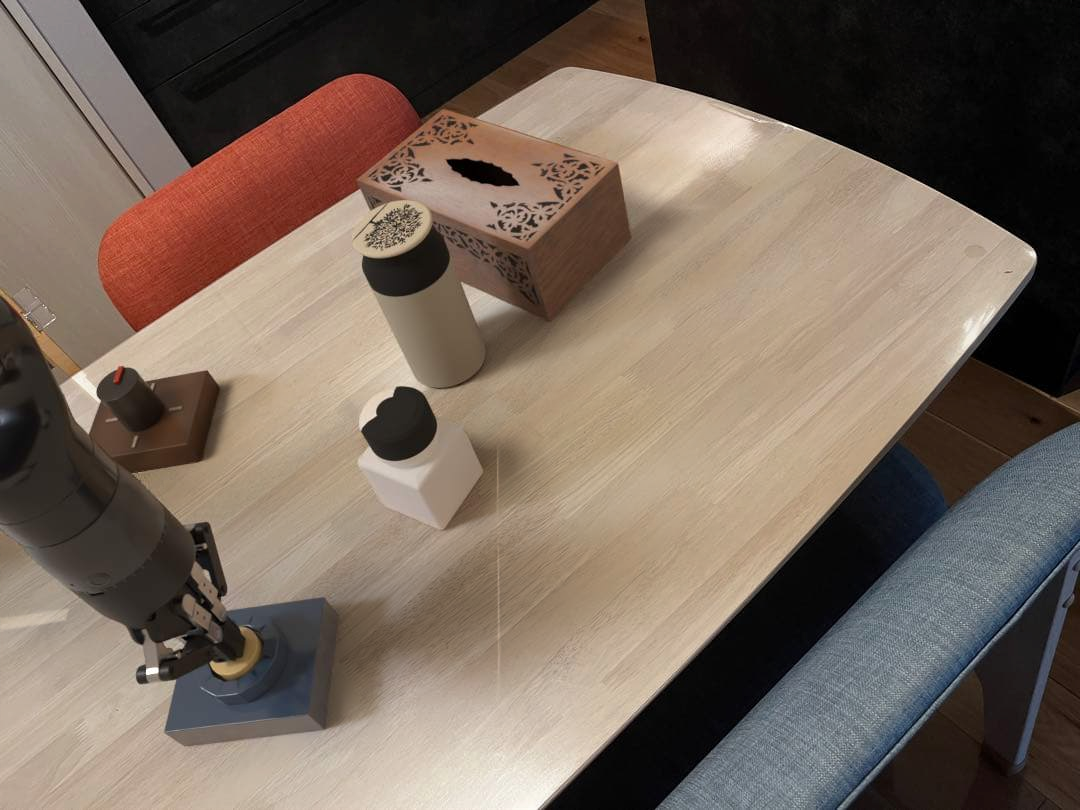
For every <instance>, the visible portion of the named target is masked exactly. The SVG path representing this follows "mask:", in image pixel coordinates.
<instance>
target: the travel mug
mask: <svg viewBox="0 0 1080 810" xmlns="http://www.w3.org/2000/svg"><path fill="white" fill-rule="evenodd" d="M432 222H433V218H432V214H431V212H430V210H429V209H428V208H427V207H426V206H425V205H423V204H422V203H419V202H416V201H411V200H400V201H394V202H390V203H386V204H384V205H381V206H379V207H377V208H375V209H373V210H372V211H370V210H369V212H368V213H366V214H364V215H363V217H361V219H360V220H359V221H358V222H357V223H356V224H355V226H354V228H353V230H352V234H351V243H352V245H353V248H354V249H355V251H356V252H357V253H359V254H360V255H362V260H361V269H362V273H363V274H364V276H365V278H366V279H365V280H366V281H367V282H368V284H369V287H370V289H371V290H372V293H373V295H374V297H375V299H376V301H377V303H378V305H379V307H380V309H381V311H382V314H383V315H384V317H385V320H386V322H387V324H388V326H389V327H390V329H391V332H392V333H393V336H394V338H395V340H396V342H397V344H398V346H399V348H400V350H401V352H402V354H403V356H404V358H405V360H406V363H407V365H408V367H409V368H410V370H411V372H412V374H413V377H414V378H415V380H416V381H418V382H419V383H420V384H422V385H424V386H426V387H430V388H435V389H440V388H442V389H443V388H449V387H454V386H456V385H459V384H462V383H463V382H465V381H467V380H469V379H470V378H471V377H473V376H474V375H475V374H476V373H477V372H478V371H479V370H480V368H481V367H482V365H483V363H484V362H485V359H486V355H487V353H486V352H487V348H486V344H485V341H484V339H483V336H482V333H481V331H480V329H479V326H478V323H477V320H476V317H475V316H474V313H473V310H472V307H471V305H470V302H469V300H468V297H467V295H466V292H465V290H464V287H463V284H462V282H461V281H460V279H459V276H458V274H457V271H456V269H455V266H454V263H453V261H452V258H451V256H450V253H449V250H448V248H447V245H446V243H445V240H444V238H443V236H442V234H441V233H440V232H439V231H437V230H436V229H434V228H433V227H432Z"/></svg>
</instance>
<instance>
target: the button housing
mask: <svg viewBox="0 0 1080 810" xmlns="http://www.w3.org/2000/svg"><path fill="white" fill-rule="evenodd" d="M227 616H228V617H229V618H230V619H231V620H232V621H233V622H234V623H235V624H236V625H237V626H238V627H245V628H248V629H250V630H252V631H253V632H254V633H255V634H256V635H257V636H258V637H259V638H260V639H261V640H262V641H263V642H264V647H263V653H262V657H261V659H260V660H259V662H258V663H257V665H256V666H255V667H254V669H253V670H252V671H251V672H250V673H248V674H247V675H245V676H244V677H242V678H240V679H239V680H234V681H225V680H224V679H223V678H222V677H221V676H219V675H218V674H217V673H216V672H215V671H214V670H213V669H212V667H211V665H210V662H209V663H207V664H205V665H203V666H201V667H199V668H198V669H196V670H194V671H192V672H190V673H188V674H186V675H184V676H182V677H180V678H178V679H176V680H175V684H174V687H173V691H172V692H173V693H172V696H171V701H170V705H169V710H168V713H167V719H166V722H165V727H164V731H163V733H164V734H165V735H166V736H168V737H169V738H171V739H172V740H175V742H177V743H178V744H180V745H181V746H183V747H192V746H193V747H194V746H201V745H210V744H219V743H226V742H234V741H242V740H251V739H260V738H268V737H276V736H285V735H294V734H300V733H301V734H303V733H309V732H317V731H318V732H319V731H325V730H326V723H327V714H328V707H329V697H330V688H331V680H332V674H333V673H332V672H333V664H334V656H335V646H336V638H337V630H338V622H339V613H338V612H337V610H336V609H335V608H334V607H333V606H332V604H331V603H330V602H329V601H328V600H327V599H326V597H325V596H321V597H314V598H307V599H300V600H292V601H286V602H278V603H273V604H263V605H257V606H250V607H243V608H235V609H230V610H227ZM184 645H185V644H183V646H184Z"/></svg>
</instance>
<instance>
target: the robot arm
mask: <svg viewBox="0 0 1080 810" xmlns="http://www.w3.org/2000/svg"><path fill="white" fill-rule="evenodd" d="M0 531H2V532H3V533H4V534H6V535H7V536H8V537H9V538H11V539H12V540H13V541H14V542H16V543H17V544H18V545H19V546H20V547H22V549H23V550H24V551H25V552H26V553H27V554H28V556H29V557H30V558H31V559H32V560H33V561H34V562H35V563H36V564H37V565H38V566H39V567H40V568H42V569H43V571H45V572H46V573H48V575H51V576H52V577H53V578H54V579H55V580H57V581H58V582H59V583H61V584H62V585H63V586H64V587H66V588H67V589H69V590H70V591H71V592H72V593H73V594H75V595H76V596H77V597H78V598H79V599H80V600H82V601H83V602H85V603H86V604H87V605H88V606H89V607H91V608H92V609H94V610H95V611H96V612H97V613H99V614H100V615H101V616H103V617H105V618H107V619H109V620H112V621H114V622H117V623H118V624H121V625H123V626H125V628H126V629H127V631H128V633H129V636H130V638H131V639H132V641H133V642H134V643H136V644H137V645H139V646H142V649H143V655H144V662H145V663H144V664H142V665H140V666H138V667H137V669H136V671H135V680H136V682H137V684H138V685H147V684H157V683H165V682H170V681H176V679H178V678H180V677H182V676H184V675H186V674H188V673H190V672H192V671H194V670H196V669H198V668H199V667H201V666H203V665H205V664H207V663H209V662H211V661H213V662H215V663H223V662H231V661H236V658H241V657H243V652H244V647H245V642H246V638H245V637H244V636H243V635H242V634H241V631H240V628H239V627H238V626H237V625H236V624H235V623H234V622H233V621H232V620H231V619H230V618H229V617H228V616H227V611H228V610H227V608H226V607H225V605H224V604H223V603H222V598H223V597H226V596H227V594H228V584H227V581H226V577H225V573H224V570H223V566H222V562H221V558H220V555H219V551H218V548H217V547H218V546H217V545H216V541H215V537H214V533H213V530H212V526H211V524H210V523H209V521H202V522H196V523H190V524H182V522H181V521H180V520H179V519H177V518H176V516H175V515H174V514H172V512H171V511H170V510H169V509H168V508H167V507H166V506H165V505H164V504H163V503H162V501H160V500H159V499H158V498H157V497H156V496H155V495H154V494H153V493H152V492H151V490H150V489H148V488H147V486H146V485H145V484H144V483H143V482H142V481H141V480H140V479H139V478H138V477H137V476H136V475H134V474H133V473H130V472H129V471H128V470H127V469H125V468H124V467H122V466H121V465H119V464H118V463H117V462H116V461H115V460H113V459H112V458H111V457H110V456H109V455H108V454H107V453H106V452H105V451H104V449H103V448H102V447H101V446H100V445H99V444H98V443H97V442H96V441H95V440H94V439H93V438H92V437H91V436H90V435H89V432H87V431H86V430H85V429H84V427H82V426H81V425H80V424H79V423H78V421H76V419H75V417H74V415H73V413H72V410H71V408H70V406H69V403H68V400H67V399H66V396H65V394H64V392H63V391H62V388H61V386H60V385H59V382H58V381H57V378H56V377H55V374H54V371H53V370H52V368H51V366H50V364H49V362H48V360H47V358H46V356H45V354H44V352H43V350H42V348H41V346H40V344H39V341H38V340H37V339H36V337H35V334H34V333H33V331H32V329H31V327H30V326H29V325H28V324H27V322H26V320H25V319H24V318H23V317H22V315H21V314H20V312H18V311H17V309H16V308H15V307H14V306H13V305H12V304H11V303H10V302H9V301H8V300H7V299H6V298H5V297H4V296H3V295H2V294H0ZM204 570H205V571H207V572H208V575H209V578H210V579H209V578H208V577H207V576H206V575H205V573H204ZM173 639H174V640H175V639H176V640H177V641H178V642H180V643H182V644H183V648H178V649H175V650H174V649H173V648H172V647H166V645H165V644H164V642H167V641H170V640H173ZM184 644H185V645H184Z"/></svg>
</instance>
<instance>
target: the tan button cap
mask: <svg viewBox="0 0 1080 810" xmlns="http://www.w3.org/2000/svg"><path fill="white" fill-rule="evenodd" d="M239 628H240V631H241V634H242V635H243V636H244V637H245V638H246V642H245V647H244V652H243V657H241V658H236V661H231V662H223V663H215V662H213V661H211V662H210V665H211V667H212V669H213V670H214V671H215V672H216V673H217V674H218V675H219V676H221V677H222V678H223V679H224V680H225V681H234V680H239V679H240V678H242V677H244V676H245V675H247V674H248V673H250V672H251V671H252V670H253V669H254V667H255V666H256V665H257V663H258V662H259V660H260V659H261V657H262V653H263V647H264V642H263V641H262V640H261V639H260V638H259V637H258V636H257V635H256V634H255V633H254V632H253V631H252V630H250V629H248V628H245V627H239Z"/></svg>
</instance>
